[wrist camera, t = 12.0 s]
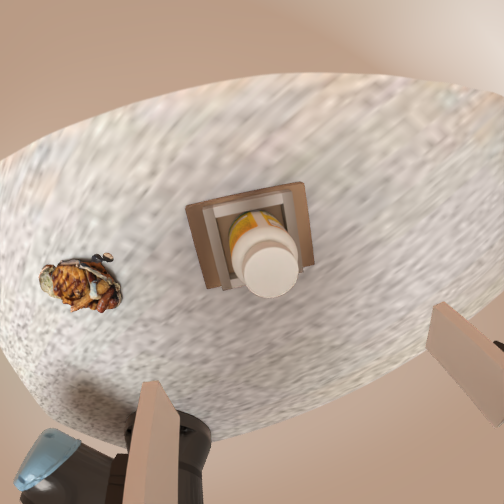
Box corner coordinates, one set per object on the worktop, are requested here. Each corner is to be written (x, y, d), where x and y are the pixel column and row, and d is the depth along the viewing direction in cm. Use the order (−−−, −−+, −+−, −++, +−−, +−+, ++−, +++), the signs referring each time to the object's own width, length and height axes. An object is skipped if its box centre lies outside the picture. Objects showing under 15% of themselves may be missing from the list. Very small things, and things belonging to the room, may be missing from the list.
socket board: (207, 283, 32) (206, 296, 29) (186, 205, 29) (183, 211, 26) (310, 259, 33) (319, 270, 30) (299, 181, 29) (309, 185, 27)
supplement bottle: (280, 207, 29) (310, 235, 20) (280, 257, 30) (307, 302, 22) (226, 210, 28) (232, 240, 19) (229, 261, 30) (236, 310, 21)
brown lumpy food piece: (36, 262, 29) (23, 273, 26) (112, 249, 30) (102, 261, 26) (54, 309, 31) (43, 323, 28) (128, 303, 32) (120, 318, 29)
